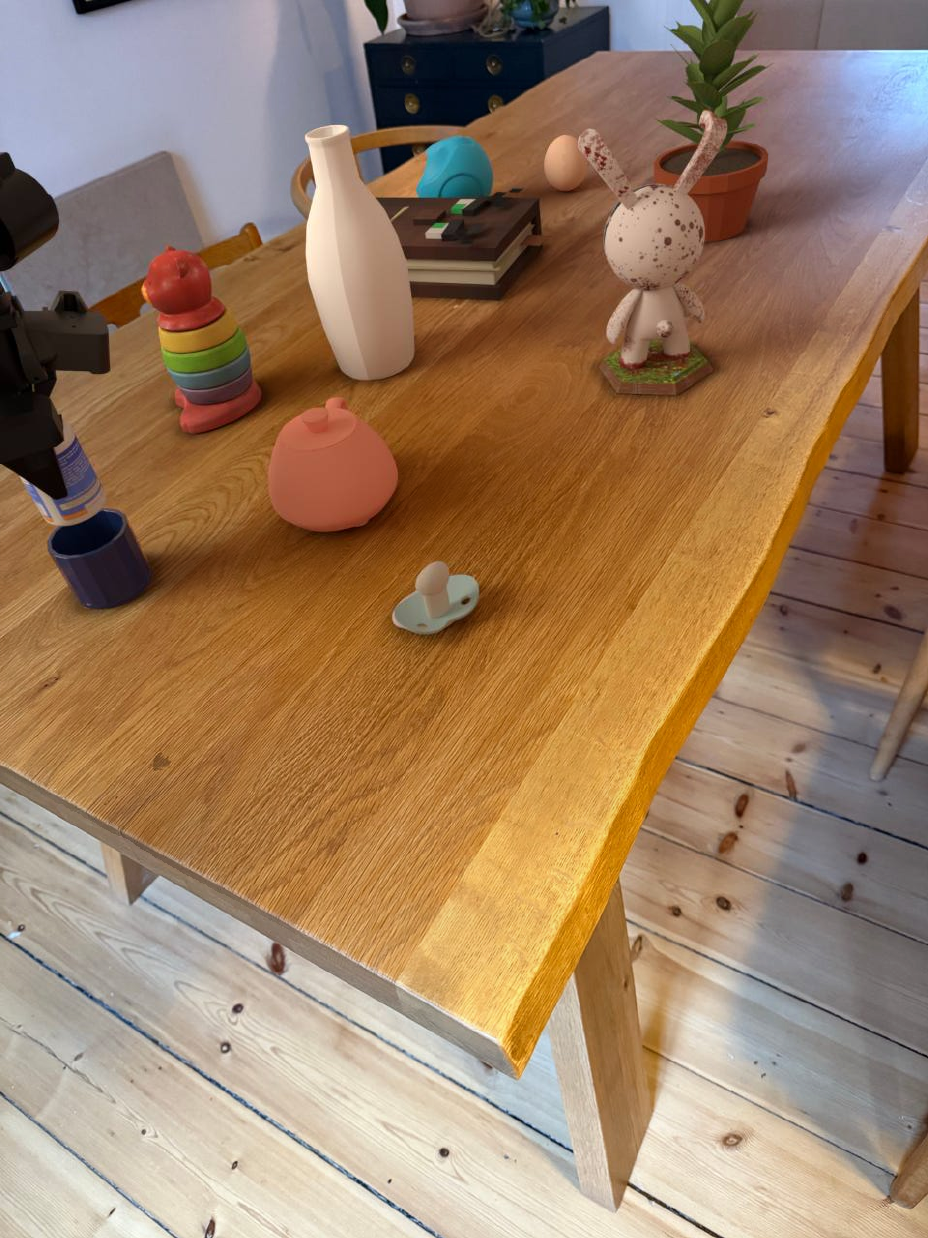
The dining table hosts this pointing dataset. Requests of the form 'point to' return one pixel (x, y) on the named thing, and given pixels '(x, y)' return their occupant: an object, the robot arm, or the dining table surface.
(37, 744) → the dining table surface
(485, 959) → the dining table surface
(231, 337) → the stacking bear
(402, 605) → the pacifier
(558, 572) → the dining table surface
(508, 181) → the dining table surface
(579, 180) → the egg
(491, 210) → the decorative book
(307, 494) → the sugar bowl
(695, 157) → the figurine
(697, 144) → the potted plant
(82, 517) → the pill bottle
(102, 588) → the dark blue cup
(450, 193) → the blue rounded dome
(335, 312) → the bottle
